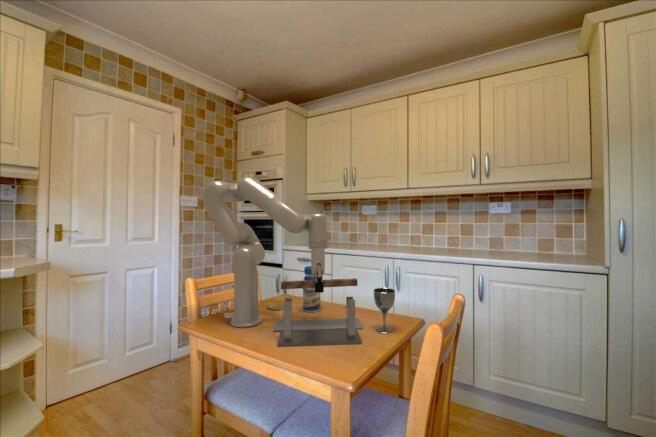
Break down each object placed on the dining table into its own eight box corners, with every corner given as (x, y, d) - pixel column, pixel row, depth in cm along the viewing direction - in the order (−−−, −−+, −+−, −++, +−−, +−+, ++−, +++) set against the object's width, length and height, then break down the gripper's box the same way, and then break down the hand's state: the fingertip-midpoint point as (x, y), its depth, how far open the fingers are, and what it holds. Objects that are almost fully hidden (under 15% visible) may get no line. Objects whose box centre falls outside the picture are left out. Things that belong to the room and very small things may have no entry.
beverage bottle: (320, 307, 145) (320, 265, 145) (321, 312, 137) (321, 268, 137) (302, 307, 144) (302, 265, 145) (302, 312, 136) (302, 268, 136)
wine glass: (389, 335, 109) (389, 293, 109) (370, 330, 114) (369, 290, 114) (398, 328, 116) (398, 289, 116) (379, 324, 120) (379, 286, 121)
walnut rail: (280, 289, 117) (280, 283, 117) (281, 287, 120) (281, 281, 120) (357, 285, 119) (357, 279, 119) (356, 284, 122) (356, 278, 122)
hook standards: (277, 346, 100) (277, 304, 100) (280, 335, 110) (280, 296, 110) (361, 343, 102) (361, 302, 102) (356, 332, 112) (356, 294, 112)
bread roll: (275, 304, 150) (275, 296, 150) (289, 307, 145) (289, 299, 145) (263, 308, 143) (263, 300, 143) (277, 312, 138) (277, 303, 138)
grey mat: (273, 331, 113) (273, 330, 113) (275, 322, 124) (276, 320, 124) (362, 329, 116) (362, 327, 116) (358, 319, 126) (358, 318, 126)
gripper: (308, 243, 128) (309, 287, 128) (308, 246, 111) (310, 296, 111) (326, 243, 128) (327, 286, 128) (329, 246, 112) (330, 295, 112)
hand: (319, 290), depth 120 cm, fingers closed on walnut rail, 3 cm apart
